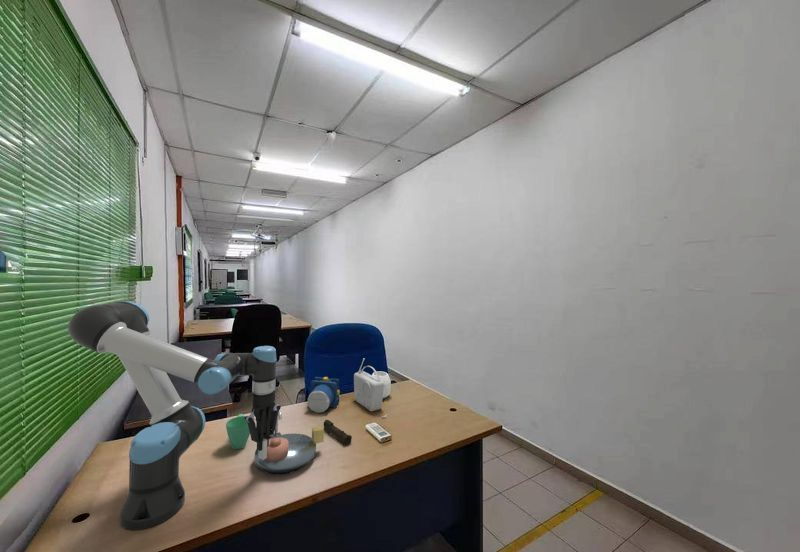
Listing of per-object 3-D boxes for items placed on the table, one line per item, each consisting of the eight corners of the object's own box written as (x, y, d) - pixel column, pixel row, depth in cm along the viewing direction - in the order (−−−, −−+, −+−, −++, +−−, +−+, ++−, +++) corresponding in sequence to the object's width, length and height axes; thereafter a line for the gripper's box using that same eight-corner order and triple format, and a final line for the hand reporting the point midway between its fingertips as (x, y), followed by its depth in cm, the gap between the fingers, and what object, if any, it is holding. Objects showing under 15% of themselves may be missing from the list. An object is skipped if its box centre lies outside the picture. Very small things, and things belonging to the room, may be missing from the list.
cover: (272, 465, 109) (273, 449, 109) (256, 456, 114) (257, 441, 114) (293, 452, 117) (293, 438, 117) (277, 445, 122) (277, 431, 122)
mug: (252, 449, 125) (253, 425, 125) (224, 455, 121) (225, 429, 121) (252, 432, 139) (252, 409, 138) (226, 436, 134) (227, 413, 134)
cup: (365, 399, 178) (366, 376, 178) (371, 391, 191) (372, 369, 191) (388, 402, 176) (389, 378, 176) (392, 393, 189) (393, 371, 189)
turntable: (281, 480, 105) (282, 459, 105) (241, 458, 116) (242, 439, 116) (331, 447, 125) (331, 429, 125) (293, 431, 137) (293, 415, 136)
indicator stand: (270, 436, 135) (271, 405, 135) (279, 434, 138) (280, 404, 137) (274, 447, 127) (275, 414, 127) (284, 445, 130) (285, 412, 129)
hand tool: (352, 444, 133) (352, 433, 133) (344, 447, 130) (344, 436, 130) (329, 426, 147) (329, 416, 147) (321, 429, 144) (321, 419, 144)
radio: (350, 399, 177) (351, 355, 177) (362, 396, 182) (364, 354, 182) (370, 414, 160) (372, 366, 160) (384, 410, 165) (385, 363, 165)
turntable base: (282, 481, 108) (282, 475, 108) (249, 463, 117) (249, 458, 117) (320, 455, 123) (320, 450, 123) (288, 441, 132) (289, 437, 132)
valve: (314, 400, 174) (313, 374, 172) (340, 402, 172) (340, 377, 170) (304, 413, 161) (303, 386, 159) (332, 417, 159) (331, 389, 157)
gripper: (253, 400, 103) (252, 471, 103) (286, 387, 114) (285, 452, 114) (240, 394, 106) (238, 463, 107) (273, 383, 118) (271, 445, 118)
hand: (262, 457), depth 110 cm, fingers closed
